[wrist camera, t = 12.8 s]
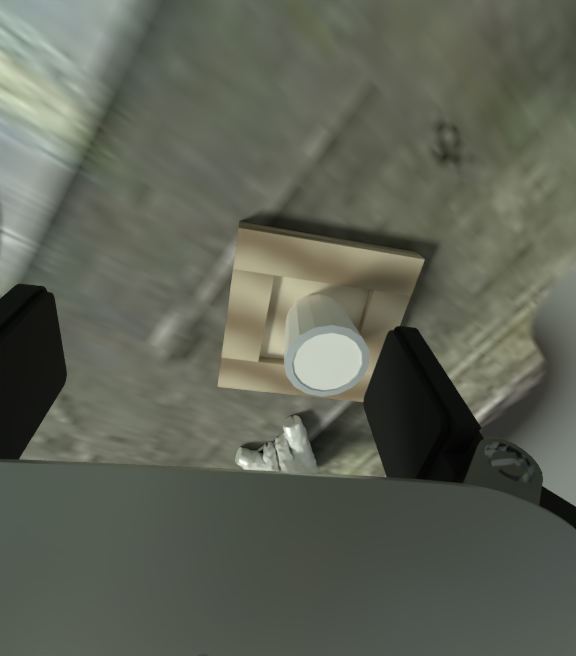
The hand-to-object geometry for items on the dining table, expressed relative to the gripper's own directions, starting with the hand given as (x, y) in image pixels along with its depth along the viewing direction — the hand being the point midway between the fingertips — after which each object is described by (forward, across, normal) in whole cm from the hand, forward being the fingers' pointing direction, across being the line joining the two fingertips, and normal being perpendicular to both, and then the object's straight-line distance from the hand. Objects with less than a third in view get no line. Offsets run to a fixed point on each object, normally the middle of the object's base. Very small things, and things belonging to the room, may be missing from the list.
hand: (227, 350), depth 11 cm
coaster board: (+23, -8, +12) cm, 27 cm away
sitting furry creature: (+22, -8, +30) cm, 38 cm away
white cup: (+22, -8, +12) cm, 26 cm away
